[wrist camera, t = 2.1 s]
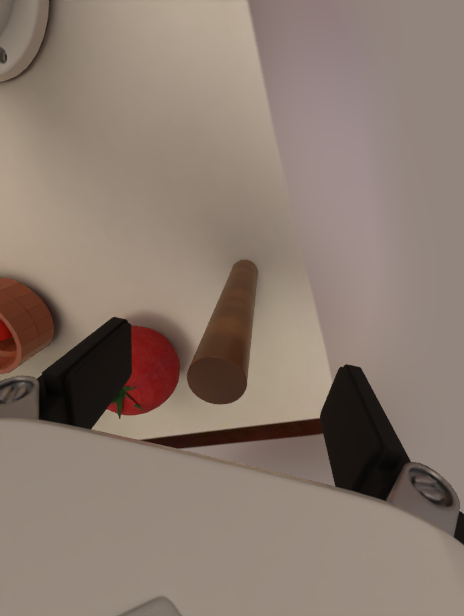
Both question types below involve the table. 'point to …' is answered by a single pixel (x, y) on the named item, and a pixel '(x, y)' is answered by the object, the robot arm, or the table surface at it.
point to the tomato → (148, 374)
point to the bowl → (22, 324)
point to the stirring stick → (227, 340)
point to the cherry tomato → (4, 331)
